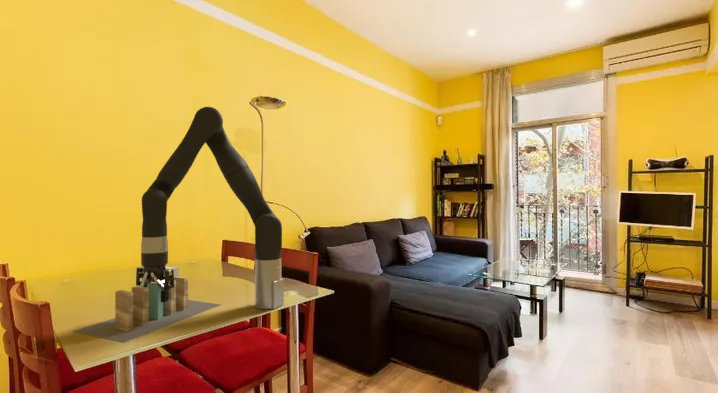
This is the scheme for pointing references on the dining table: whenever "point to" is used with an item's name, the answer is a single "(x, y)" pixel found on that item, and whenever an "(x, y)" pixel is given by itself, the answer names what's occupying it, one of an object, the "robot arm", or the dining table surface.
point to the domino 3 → (155, 302)
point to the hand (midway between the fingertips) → (154, 300)
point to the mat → (110, 333)
